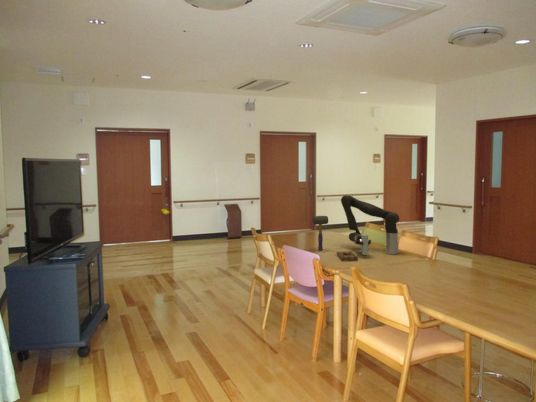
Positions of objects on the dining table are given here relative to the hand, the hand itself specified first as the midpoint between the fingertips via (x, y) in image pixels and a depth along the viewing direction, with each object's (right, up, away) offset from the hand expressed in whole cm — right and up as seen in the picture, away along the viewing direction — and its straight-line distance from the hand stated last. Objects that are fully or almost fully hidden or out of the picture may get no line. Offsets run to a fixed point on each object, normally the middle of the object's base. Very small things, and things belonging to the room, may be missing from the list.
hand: (365, 243), depth 326 cm
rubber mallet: (-31, -9, +32) cm, 45 cm away
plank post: (0, -8, +4) cm, 9 cm away
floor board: (-14, -12, +3) cm, 19 cm away
